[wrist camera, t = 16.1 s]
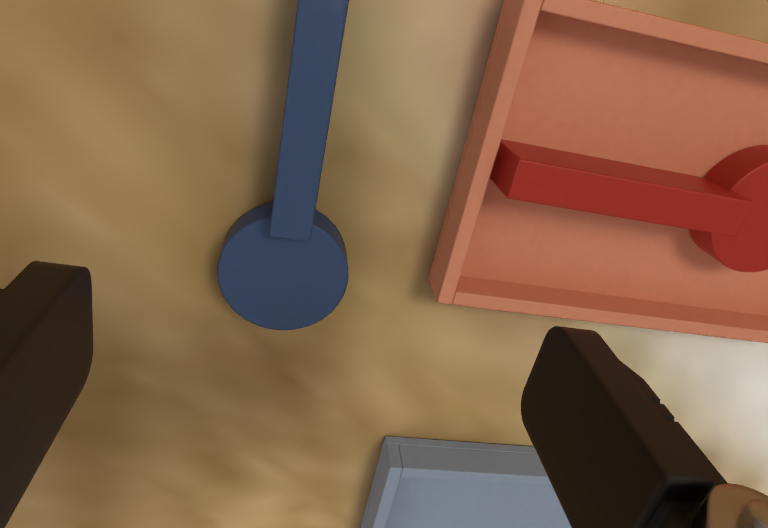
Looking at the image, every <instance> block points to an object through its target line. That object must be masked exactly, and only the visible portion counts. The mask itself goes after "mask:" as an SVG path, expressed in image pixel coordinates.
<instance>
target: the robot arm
mask: <svg viewBox="0 0 768 528" xmlns="http://www.w3.org/2000/svg"><path fill="white" fill-rule="evenodd" d="M92 356H93V321H92V284H91V275H90V272H89V270H88V268H86V267H80V266H72V265H64V264H56V263H48V262H40V261H33V262H31V263H30V264H29V265H28V266H27V267H26V268H25V269H24V270H23V271H22V272H21V273H20V274H19V275H18V276H17V277H16V278H15V279H14V280H13V281H12V282H11V283H10V284H9V285H8V286H7V287H6V288H5V289H0V528H5V526H6V524H7V523H8V521H9V519H10V517H11V516H12V514H13V512H14V510H15V508H16V507H17V505H18V503H19V501H20V499H21V498H22V496H23V494H24V492H25V491H26V489H27V487H28V485H29V483H30V482H31V480H32V478H33V476H34V474H35V473H36V471H37V469H38V467H39V465H40V464H41V462H42V460H43V458H44V457H45V455H46V453H47V451H48V449H49V448H50V446H51V444H52V442H53V440H54V439H55V437H56V435H57V433H58V432H59V430H60V428H61V426H62V424H63V423H64V421H65V419H66V417H67V415H68V414H69V412H70V410H71V408H72V406H73V405H74V403H75V401H76V399H77V398H78V396H79V394H80V392H81V390H82V389H83V387H84V385H85V383H86V380H87V377H88V374H89V371H90V367H91V362H92ZM521 415H522V420H523V423H524V426H525V428H526V430H527V432H528V435H529V437H530V439H531V441H532V443H533V445H534V448H535V450H536V452H537V454H538V456H539V458H540V461H541V463H542V465H543V467H544V469H545V471H546V474H547V476H548V478H549V480H550V482H551V484H552V486H553V489H554V491H555V493H556V495H557V497H558V499H559V502H560V504H561V506H562V508H563V510H564V512H565V515H566V517H567V519H568V521H569V523H570V525H571V528H768V496H767V495H765V494H763V493H761V492H758V491H756V490H754V489H751V488H748V487H745V486H742V485H737V484H728V483H727V482H726V481H725V480H724V478H723V477H722V476H721V475H720V473H719V472H718V471H717V470H716V468H715V467H714V466H713V465H712V463H711V462H710V461H709V460H708V458H707V457H706V456H705V455H704V454H703V452H702V451H701V450H700V449H699V447H698V446H697V445H696V444H695V442H694V441H693V440H692V439H691V437H690V436H689V435H688V434H687V432H686V431H685V430H684V429H683V428H682V426H681V425H680V424H679V423H678V422H674V416H673V415H672V414H671V413H670V411H669V410H668V409H667V408H666V406H665V405H664V404H660V399H659V398H658V397H657V395H656V394H655V393H654V392H653V390H652V389H651V388H650V387H649V385H648V384H647V383H646V382H645V380H644V379H643V378H641V377H640V376H639V375H637V374H636V373H635V372H634V371H632V370H631V369H630V368H629V367H627V366H626V365H625V364H623V363H622V362H621V361H620V360H619V359H618V358H617V357H616V356H615V354H614V353H613V352H612V350H611V349H610V348H609V347H608V345H607V344H606V343H605V342H604V340H603V339H602V338H601V336H600V335H599V334H598V333H597V332H595V331H591V330H583V329H575V328H567V327H559V326H555V327H553V328H551V329H550V330H549V331H548V333H547V334H546V336H545V338H544V341H543V343H542V346H541V348H540V351H539V353H538V356H537V358H536V361H535V363H534V366H533V368H532V371H531V373H530V375H529V378H528V380H527V383H526V385H525V388H524V391H523V394H522V400H521Z"/></svg>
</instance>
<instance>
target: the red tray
mask: <svg viewBox="0 0 768 528" xmlns="http://www.w3.org/2000/svg"><path fill="white" fill-rule="evenodd" d="M501 139H503V140H509V141H514V142H519V143H524V144H530V145H535V146H540V147H545V148H551V149H556V150H561V151H567V152H572V153H577V154H582V155H588V156H593V157H598V158H603V159H609V160H614V161H619V162H624V163H630V164H635V165H640V166H646V167H651V168H656V169H661V170H667V171H672V172H677V173H682V174H688V175H693V176H698V177H703V178H704V177H705V175H706V174H707V173H708V172H709V171H710V170H711V169H712V168H713V167H714V166H715V165H717V164H718V163H719V162H720V161H721V160H723V159H725V158H726V157H728V156H729V155H731V154H733V153H735V152H737V151H739V150H742V149H744V148H748V147H752V146H758V145H768V43H765V42H761V41H757V40H753V39H749V38H744V37H740V36H736V35H732V34H728V33H724V32H720V31H716V30H712V29H708V28H703V27H699V26H695V25H691V24H687V23H683V22H679V21H675V20H671V19H666V18H662V17H658V16H654V15H650V14H646V13H642V12H638V11H634V10H629V9H625V8H621V7H617V6H613V5H609V4H605V3H601V2H597V1H593V0H504V2H503V6H502V10H501V13H500V17H499V21H498V24H497V28H496V32H495V35H494V39H493V43H492V46H491V50H490V54H489V57H488V61H487V65H486V68H485V72H484V76H483V79H482V83H481V87H480V90H479V94H478V98H477V101H476V105H475V109H474V112H473V116H472V120H471V123H470V127H469V131H468V134H467V138H466V142H465V145H464V149H463V153H462V156H461V160H460V164H459V167H458V171H457V175H456V178H455V182H454V186H453V189H452V193H451V197H450V200H449V204H448V208H447V211H446V215H445V219H444V223H443V226H442V230H441V234H440V237H439V241H438V245H437V248H436V252H435V256H434V259H433V263H432V267H431V270H430V274H429V281H430V284H431V286H432V289H433V292H434V294H435V297H436V300H437V302H438V303H443V304H453V305H459V306H468V307H476V308H484V309H492V310H501V311H509V312H517V313H525V314H534V315H542V316H550V317H558V318H567V319H575V320H583V321H591V322H600V323H608V324H616V325H624V326H633V327H641V328H649V329H657V330H666V331H674V332H682V333H690V334H699V335H707V336H715V337H723V338H731V339H740V340H748V341H756V342H764V343H768V270H765V271H760V272H740V271H735V270H732V269H730V268H728V267H726V266H725V265H723V264H722V263H720V262H719V261H717V260H716V259H715V258H713V257H712V256H710V255H709V254H708V253H706V252H705V251H703V250H702V249H701V248H699V247H698V246H697V245H696V244H695V242H694V241H693V239H692V237H691V235H690V233H689V229H685V228H679V227H673V226H667V225H662V224H656V223H650V222H644V221H638V220H632V219H626V218H620V217H614V216H608V215H602V214H596V213H590V212H584V211H578V210H572V209H566V208H560V207H554V206H548V205H543V204H537V203H531V202H525V201H519V200H513V199H508V198H507V197H506V196H505V195H504V194H503V193H502V192H501V190H500V189H499V188H498V187H497V186H496V185H495V183H494V182H493V181H492V180H491V179H490V175H491V171H492V168H493V165H494V161H495V158H496V155H497V151H498V148H499V145H500V141H501Z"/></svg>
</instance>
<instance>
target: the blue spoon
mask: <svg viewBox="0 0 768 528" xmlns="http://www.w3.org/2000/svg"><path fill="white" fill-rule="evenodd" d="M348 3H349V0H298V4H297V12H296V20H295V28H294V37H293V45H292V53H291V61H290V69H289V77H288V85H287V93H286V101H285V109H284V117H283V125H282V133H281V142H280V150H279V158H278V166H277V174H276V182H275V190H274V198H273V203H268V204H264V205H261V206H258V207H256V208H254V209H252V210H250V211H248V212H247V213H245V214H244V215H243V216H241V217H240V218H239V219H238V220H237V221H236V222H235V223H234V224H233V226H232V227H231V229H230V230H229V232H228V234H227V236H226V239H225V242H224V245H223V248H222V251H221V254H220V257H219V260H218V267H217V277H218V283H219V286H220V290H221V292H222V294H223V296H224V298H225V299H226V301H227V302H228V304H229V305H230V306H231V307H232V309H233V310H234V311H235V312H237V313H238V314H239V315H240V316H242V317H243V318H244V319H246V320H248V321H250V322H251V323H253V324H256V325H258V326H261V327H265V328H269V329H275V330H293V329H299V328H303V327H307V326H310V325H312V324H314V323H316V322H318V321H320V320H322V319H323V318H325V317H326V316H327V315H329V314H330V313H331V312H332V311H333V310H334V309H335V307H336V306H337V305H338V304H339V302H340V301H341V299H342V297H343V295H344V293H345V291H346V287H347V283H348V264H347V256H346V249H345V244H344V241H343V239H342V236H341V234H340V232H339V231H338V229H337V228H336V227H335V225H334V224H333V223H332V222H331V221H330V220H329V219H328V218H327V217H326V216H324V215H323V214H321V213H320V212H318V211H317V210H315V208H316V202H317V196H318V190H319V184H320V177H321V171H322V165H323V159H324V152H325V146H326V140H327V134H328V128H329V121H330V115H331V109H332V103H333V96H334V90H335V84H336V78H337V71H338V65H339V59H340V53H341V47H342V40H343V34H344V28H345V22H346V15H347V9H348Z"/></svg>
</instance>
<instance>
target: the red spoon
mask: <svg viewBox="0 0 768 528" xmlns="http://www.w3.org/2000/svg"><path fill="white" fill-rule="evenodd" d="M490 179H491V180H492V181H493V182H494V183H495V185H496V186H497V187H498V188H499V189H500V190H501V192H502V193H503V194H504V195H505V196H506V197H507V198H508V199H513V200H519V201H525V202H531V203H537V204H543V205H548V206H554V207H560V208H566V209H572V210H578V211H584V212H590V213H596V214H602V215H608V216H614V217H620V218H626V219H632V220H638V221H644V222H650V223H656V224H662V225H667V226H673V227H679V228H685V229H689V233H690V235H691V237H692V239H693V241H694V242H695V244H696V245H697V246H698V247H699V248H701V249H702V250H703V251H705V252H706V253H708V254H709V255H710V256H712V257H713V258H715V259H716V260H717V261H719V262H720V263H722V264H723V265H725V266H726V267H728V268H730V269H732V270H735V271H740V272H760V271H765V270H768V145H758V146H752V147H748V148H744V149H742V150H739V151H737V152H735V153H733V154H731V155H729V156H728V157H726V158H725V159H723V160H721V161H720V162H719V163H718V164H717V165H715V166H714V167H713V168H712V169H711V170H710V171H709V172H708V173H707V174H706V175H705V177H704V178H703V177H698V176H693V175H688V174H682V173H677V172H672V171H667V170H661V169H656V168H651V167H646V166H640V165H635V164H630V163H624V162H619V161H614V160H609V159H603V158H598V157H593V156H588V155H582V154H577V153H572V152H567V151H561V150H556V149H551V148H545V147H540V146H535V145H530V144H524V143H519V142H514V141H509V140H503V139H501V141H500V145H499V148H498V151H497V155H496V158H495V161H494V165H493V168H492V171H491V175H490Z"/></svg>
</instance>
